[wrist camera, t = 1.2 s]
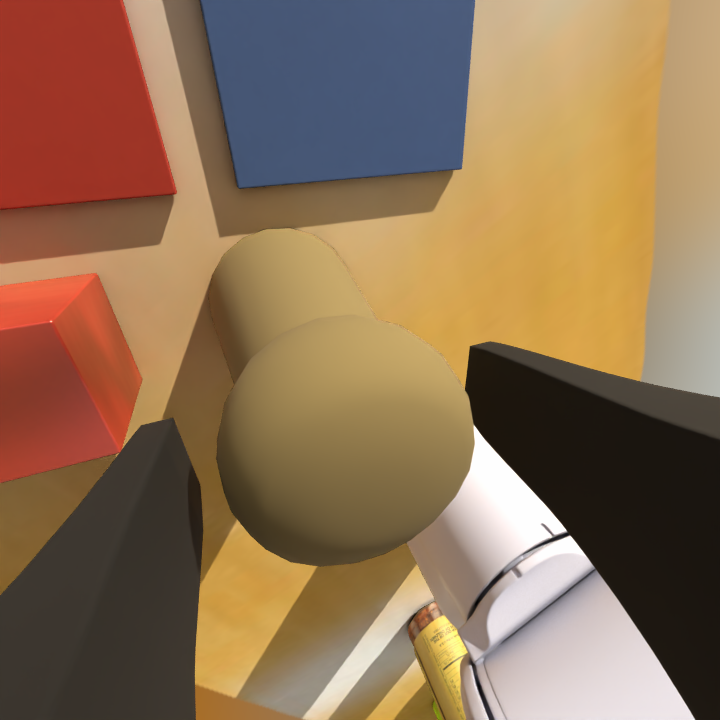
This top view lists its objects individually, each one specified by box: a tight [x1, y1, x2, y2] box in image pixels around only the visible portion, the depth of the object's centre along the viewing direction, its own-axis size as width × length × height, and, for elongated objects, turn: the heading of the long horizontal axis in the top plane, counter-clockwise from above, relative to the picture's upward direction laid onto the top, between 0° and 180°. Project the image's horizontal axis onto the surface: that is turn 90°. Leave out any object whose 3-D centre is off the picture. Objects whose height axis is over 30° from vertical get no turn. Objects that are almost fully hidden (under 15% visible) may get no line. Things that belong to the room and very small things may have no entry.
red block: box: [0, 273, 142, 483], centre depth 11 cm, size 4×4×4 cm
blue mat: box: [200, 0, 475, 189], centre depth 12 cm, size 9×9×1 cm
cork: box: [208, 228, 475, 567], centre depth 11 cm, size 6×6×11 cm
